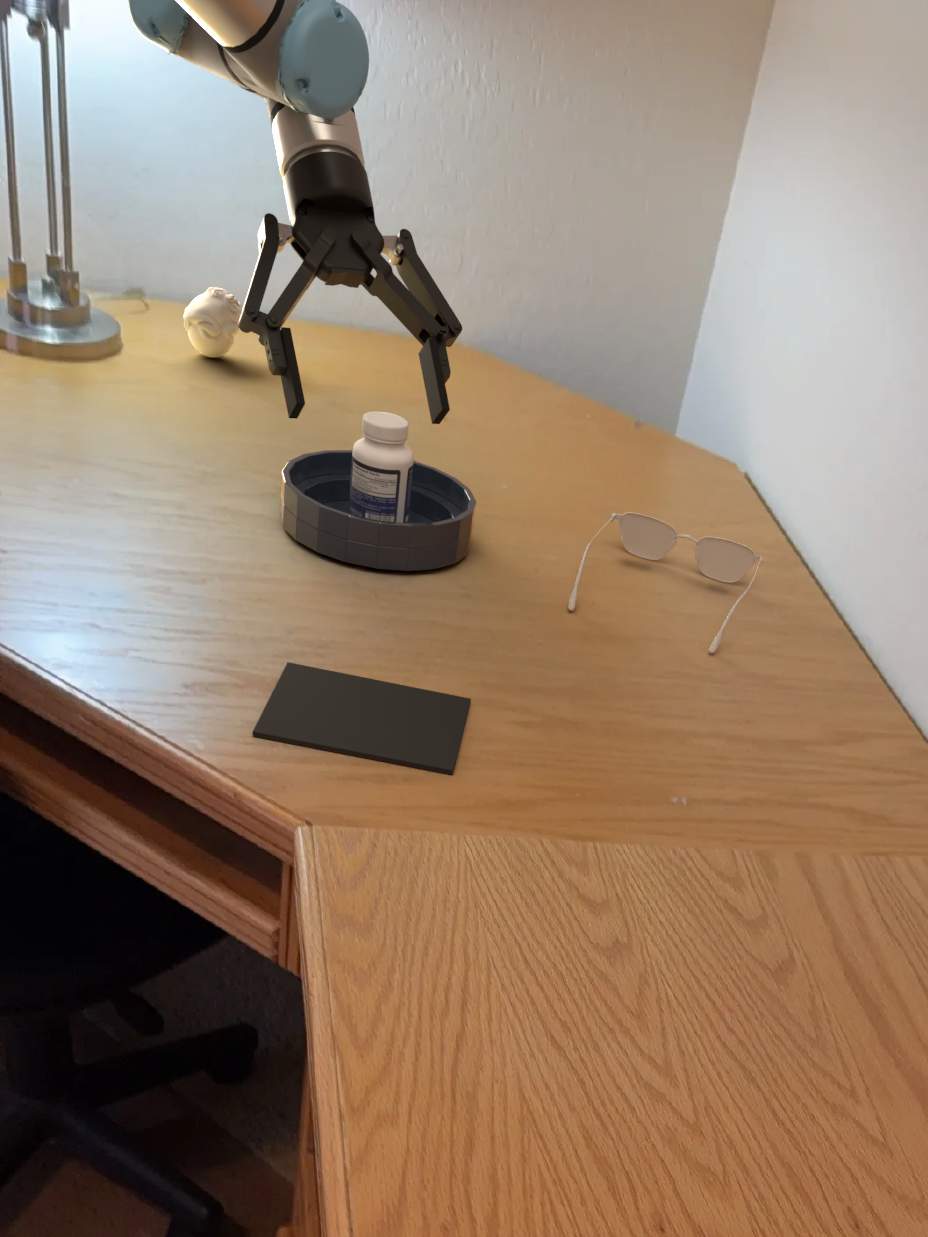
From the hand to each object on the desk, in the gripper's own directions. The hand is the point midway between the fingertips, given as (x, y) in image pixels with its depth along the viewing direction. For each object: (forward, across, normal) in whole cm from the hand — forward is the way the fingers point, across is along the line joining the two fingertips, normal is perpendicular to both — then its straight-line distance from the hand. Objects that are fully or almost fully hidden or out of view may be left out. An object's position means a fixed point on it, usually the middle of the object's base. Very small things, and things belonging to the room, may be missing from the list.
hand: (371, 414), depth 115 cm
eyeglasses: (+20, +23, -6) cm, 31 cm away
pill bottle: (+9, 0, +4) cm, 10 cm away
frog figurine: (-25, -1, +39) cm, 46 cm away
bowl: (+9, 0, +4) cm, 10 cm away
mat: (+32, -13, -19) cm, 39 cm away
